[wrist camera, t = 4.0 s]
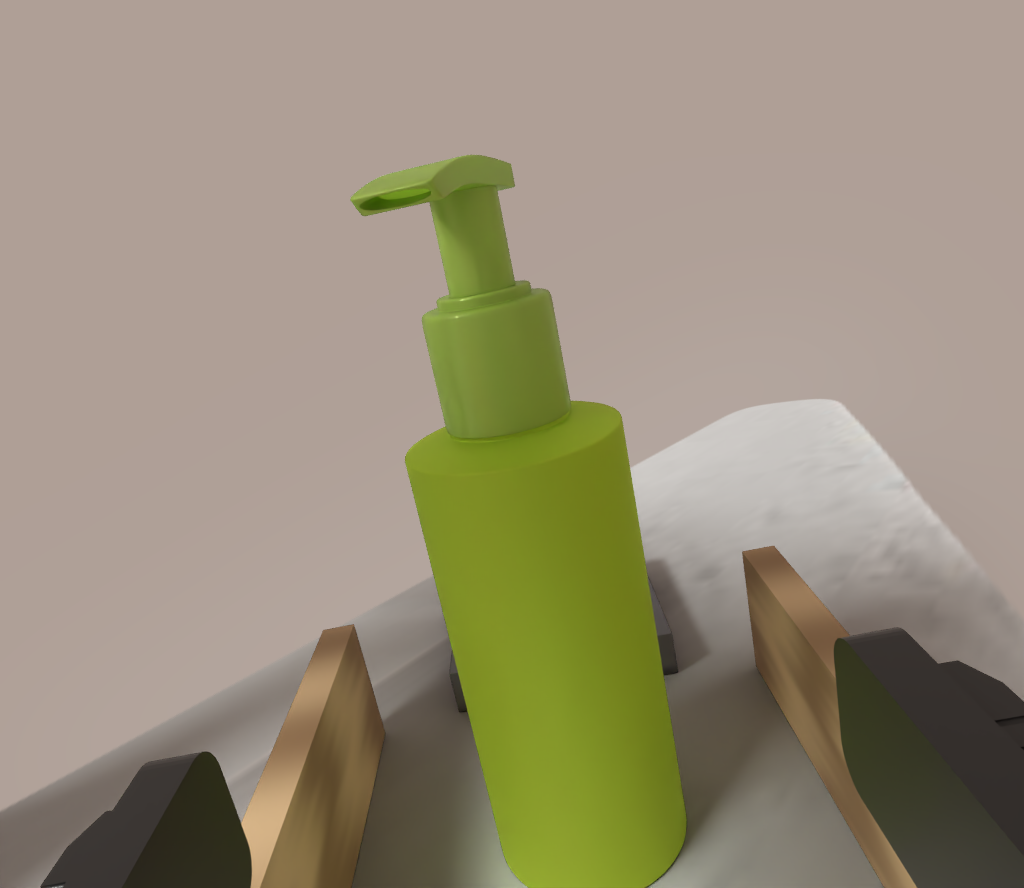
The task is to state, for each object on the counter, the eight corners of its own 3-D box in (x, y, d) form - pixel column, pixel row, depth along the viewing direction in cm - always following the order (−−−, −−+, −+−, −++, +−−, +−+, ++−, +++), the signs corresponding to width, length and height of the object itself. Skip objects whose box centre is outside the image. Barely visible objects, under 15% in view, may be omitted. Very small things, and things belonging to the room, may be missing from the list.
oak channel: (1019, 1017, 17) (1018, 834, 15) (245, 1142, 17) (175, 978, 16) (786, 660, 30) (774, 545, 29) (356, 738, 31) (323, 630, 29)
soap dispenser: (463, 924, 22) (259, 193, 16) (530, 754, 28) (401, 185, 22) (672, 953, 20) (524, 127, 14) (694, 762, 26) (598, 139, 20)
